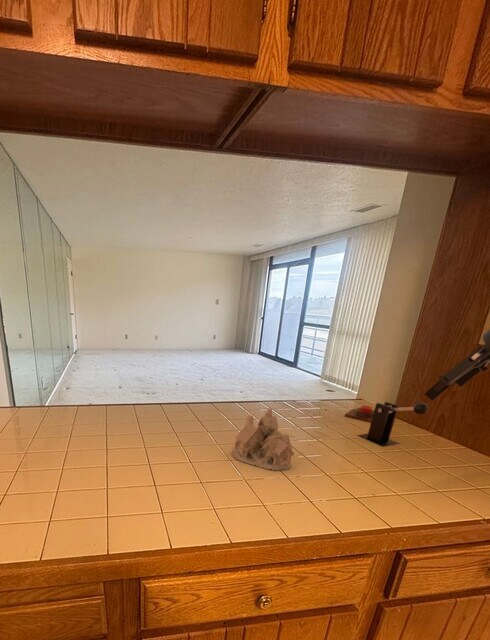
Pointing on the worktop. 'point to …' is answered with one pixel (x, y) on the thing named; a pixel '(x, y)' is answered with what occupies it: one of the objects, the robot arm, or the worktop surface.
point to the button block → (360, 415)
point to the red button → (366, 409)
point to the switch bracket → (381, 425)
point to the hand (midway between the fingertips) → (443, 390)
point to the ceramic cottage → (263, 444)
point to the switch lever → (412, 408)
